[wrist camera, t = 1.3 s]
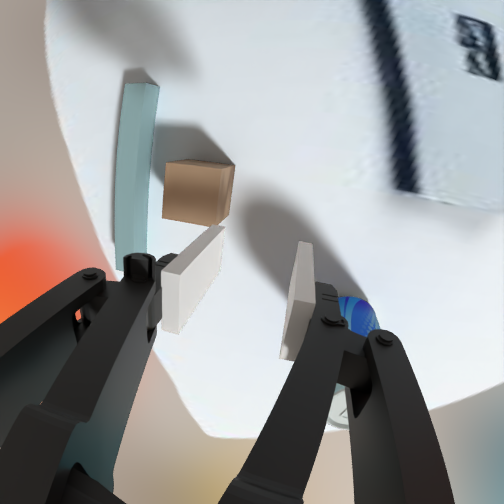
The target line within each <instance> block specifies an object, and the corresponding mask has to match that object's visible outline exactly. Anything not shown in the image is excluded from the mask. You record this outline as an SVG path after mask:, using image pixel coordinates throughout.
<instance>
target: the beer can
mask: <svg viewBox="0 0 504 504" xmlns="http://www.w3.org/2000/svg"><path fill="white" fill-rule="evenodd" d="M338 300H339V306H340V312H341V316H343V317H344V318H345V319H346V320H347V321H348V325H349V326H348V329H350V330H351V331H353V332H355V333H357V334H360V335H363V336H365V337H367V336H368V333H369V332H370V331H371V330H374V329H380V326H379V323H378V320H377V317H376V314H375V312H374V310H373V308H372V307H371V305H370V304H369V303H367V302H366V301H365V300H363V299H360V298H358V297H352V296H344V297H339V298H338ZM327 423H328V424H329V425H331V426H333V427H335V428H339V429H345V430H349V423H348V414H347V405H346V397H345V386H343V385H340V384H338V383H337V384H336V388H335V392H334V396H333V400H332V404H331V408H330V411H329V415H328V419H327Z"/></svg>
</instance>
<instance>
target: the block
mask: <svg viewBox="0 0 504 504" xmlns="http://www.w3.org/2000/svg"><path fill="white" fill-rule="evenodd" d="M234 172H235V165H230V164H222V163H215V162H207V161H199V160H190V159H185V160H179V161H172V162H166V168H165V180H164V193H163V208H162V218H164V219H169V220H175V221H181V222H186V223H192V224H197V225H203V226H208V227H210V226H211V225H218V224H219V223H220V222H222V221H223V220H224V219H225V218H226V217H227V216H228V215H229V210H230V202H231V194H232V187H233V179H234Z"/></svg>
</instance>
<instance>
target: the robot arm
mask: <svg viewBox="0 0 504 504" xmlns="http://www.w3.org/2000/svg"><path fill="white" fill-rule="evenodd" d="M224 235H225V227H224V226H218V225H211V226H210V227H209V228H208V229H207V230H206V231H205V232H203V233H202V234H201V235H200V236H199V237H198V238H197V239H196V240H194V241H193V242H192V243H191V244H190V245H189V246H188V247H187V248H186V249H184V250H183V251H182V252H181V253H180V254H179V255H178V254H173V253H170V254H167V255H165V256H162V257H161V258H160V259H159V260H158V261H157V262H156V258H155V257H154V256H152V255H150V254H147V253H131V254H128V255H126V256H124V257H123V267H124V277H123V278H122V280H121V281H120V282H117V281H106V274H105V272H104V271H103V270H101V269H97V268H87V269H83V270H81V271H79V272H77V273H75V274H74V275H72V276H71V277H69V278H67V279H66V280H64V281H63V282H61V283H60V284H58V285H56V286H55V287H53V288H52V289H50V290H49V291H47V292H46V293H45V294H43V295H41V296H40V297H38V298H37V299H36V300H34V301H32V302H31V303H30V304H28V305H27V306H25V307H24V308H22V309H21V310H19V311H18V312H17V313H15V314H14V315H12V316H11V317H9V318H8V319H7V320H5V321H4V322H2V323H1V324H0V447H1V449H0V504H126V503H125V502H123V501H122V500H121V499H119V498H118V497H117V496H115V495H114V494H113V489H114V481H113V470H114V465H115V461H116V458H117V455H118V451H119V447H120V444H121V441H122V437H123V434H124V430H125V427H126V424H127V420H128V418H129V414H130V411H131V408H132V405H133V401H134V398H135V396H136V393H137V390H138V386H139V384H140V381H141V378H142V375H143V372H144V369H145V366H146V363H147V360H148V357H149V355H150V351H151V349H152V346H153V343H154V341H155V338H156V335H157V324H158V323H159V321H160V320H161V324H162V330H164V331H167V332H171V333H174V334H178V335H179V333H180V332H181V330H182V329H183V327H184V326H185V324H186V322H187V321H188V319H189V318H190V316H191V315H192V313H193V312H194V310H195V309H196V307H197V306H198V304H199V303H200V301H201V300H202V298H203V297H204V295H205V294H206V292H207V291H208V289H209V287H210V286H211V284H212V283H213V281H214V280H215V278H216V277H217V275H218V274H219V272H220V271H221V262H222V253H223V244H224ZM79 309H80V313H81V319H79V320H76V316H75V313H76V311H78V310H79ZM348 326H349V325H348V321H347V320H346V319H345V318H344V317H343V316H341V312H340V306H339V300H338V294H337V290H336V289H335V288H334V287H333V286H332V285H330V284H325V283H320V282H315V277H314V258H313V243H307V242H302V241H299V244H298V248H297V253H296V258H295V263H294V267H293V272H292V277H291V281H290V286H289V294H288V301H287V309H286V316H285V323H284V330H283V337H282V343H281V350H280V356H279V359H284V360H289V361H295V362H294V364H293V366H292V368H291V371H290V373H289V375H288V377H287V379H286V382H285V384H284V386H283V388H282V390H281V392H280V394H279V397H278V399H277V401H276V403H275V405H274V407H273V409H272V411H271V413H270V415H269V417H268V419H267V421H266V423H265V425H264V427H263V429H262V431H261V433H260V435H259V437H258V439H257V441H256V443H255V445H254V446H253V448H252V450H251V452H250V454H249V456H248V458H247V460H246V461H245V463H244V465H243V467H242V469H241V471H240V472H239V474H238V475H237V477H236V478H234V479H233V480H232V482H231V483H230V484H229V486H228V488H227V489H226V491H225V492H224V494H223V496H222V497H221V499H220V501H219V502H218V504H303V503H304V502H303V499H302V498H303V494H304V491H305V488H306V485H307V482H308V480H309V477H310V473H311V471H312V468H313V465H314V462H315V458H316V456H317V453H318V449H319V446H320V443H321V440H322V436H323V433H324V429H325V426H326V422H327V419H328V415H329V411H330V408H331V404H332V400H333V396H334V392H335V388H336V384H337V383H338V384H340V385H343V386H345V397H346V405H347V414H348V423H349V433H350V443H351V455H352V468H353V483H354V502H355V504H455V502H454V498H453V493H452V489H451V485H450V481H449V478H448V474H447V470H446V466H445V463H444V459H443V456H442V452H441V449H440V446H439V442H438V439H437V436H436V433H435V430H434V427H433V424H432V421H431V418H430V415H429V412H428V409H427V406H426V404H425V401H424V398H423V395H422V393H421V390H420V387H419V385H418V382H417V380H416V377H415V374H414V372H413V369H412V367H411V364H410V362H409V360H408V357H407V355H406V352H405V350H404V348H403V345H402V343H401V341H400V340H399V338H398V337H397V336H396V335H394V334H393V333H392V332H389V331H387V330H382V329H374V330H371V331H370V332H369V333H368V336H367V337H365V336H363V335H360V334H357V333H355V332H353V331H351V330H350V329H348ZM42 401H43V402H42ZM41 402H42V403H41ZM40 403H41V404H40ZM39 404H40V405H39Z"/></svg>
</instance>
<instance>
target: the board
mask: <svg viewBox="0 0 504 504" xmlns="http://www.w3.org/2000/svg"><path fill="white" fill-rule="evenodd" d="M159 89H160V87H158V86H155V85H152V84H149V83H131V84H125V88H124V95H123V102H122V109H121V117H120V126H119V136H118V148H117V161H116V180H115V259H116V270H120V271H124V267H123V257H124V256H126V255H128V254H131V253H147V214H148V193H149V178H150V165H151V153H152V143H153V134H154V125H155V117H156V109H157V102H158V95H159Z"/></svg>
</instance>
